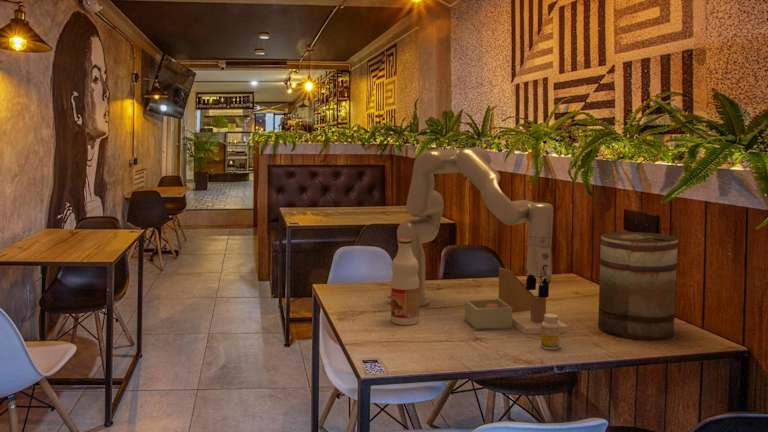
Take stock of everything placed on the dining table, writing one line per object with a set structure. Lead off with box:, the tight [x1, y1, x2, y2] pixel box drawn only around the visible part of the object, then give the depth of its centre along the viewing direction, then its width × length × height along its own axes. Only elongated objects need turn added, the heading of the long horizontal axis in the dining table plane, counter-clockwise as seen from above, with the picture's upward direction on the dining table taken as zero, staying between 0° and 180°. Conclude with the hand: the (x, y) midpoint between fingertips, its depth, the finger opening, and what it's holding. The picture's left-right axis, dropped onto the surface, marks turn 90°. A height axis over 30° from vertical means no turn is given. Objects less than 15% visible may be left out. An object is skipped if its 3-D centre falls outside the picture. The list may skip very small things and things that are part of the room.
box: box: [464, 298, 513, 332], centre depth 211 cm, size 12×12×7 cm
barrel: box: [597, 231, 679, 342], centre depth 203 cm, size 22×22×30 cm
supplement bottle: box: [540, 313, 561, 351], centre depth 187 cm, size 5×5×10 cm
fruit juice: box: [390, 239, 420, 326], centre depth 214 cm, size 9×9×28 cm
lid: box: [512, 295, 569, 336], centre depth 208 cm, size 14×14×10 cm
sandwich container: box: [498, 267, 535, 313], centre depth 232 cm, size 9×15×15 cm, turn 111°
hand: (536, 293), depth 207 cm, fingers open, 9 cm apart
